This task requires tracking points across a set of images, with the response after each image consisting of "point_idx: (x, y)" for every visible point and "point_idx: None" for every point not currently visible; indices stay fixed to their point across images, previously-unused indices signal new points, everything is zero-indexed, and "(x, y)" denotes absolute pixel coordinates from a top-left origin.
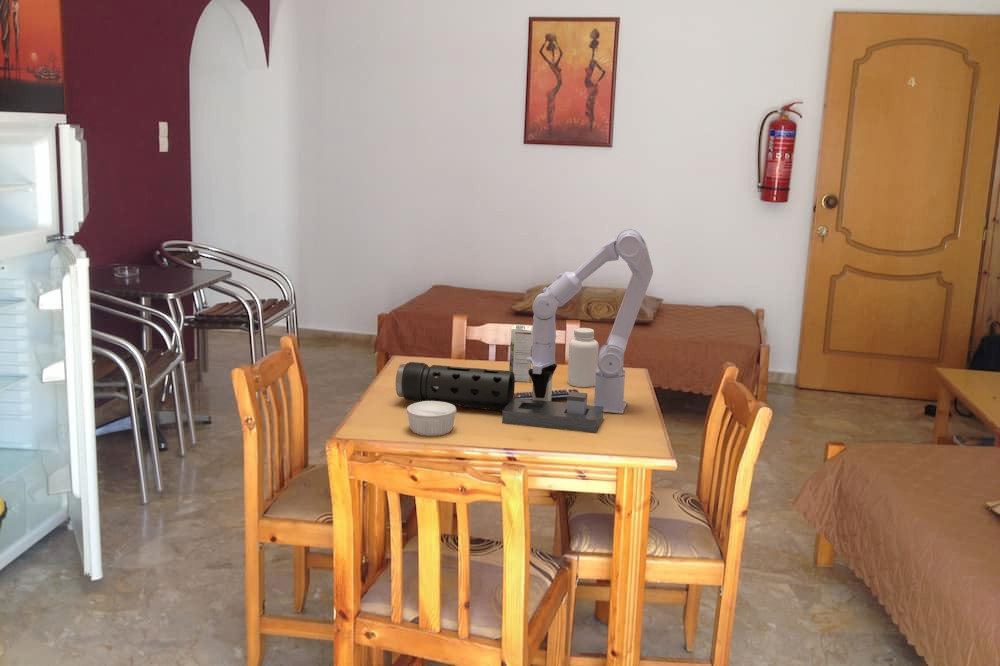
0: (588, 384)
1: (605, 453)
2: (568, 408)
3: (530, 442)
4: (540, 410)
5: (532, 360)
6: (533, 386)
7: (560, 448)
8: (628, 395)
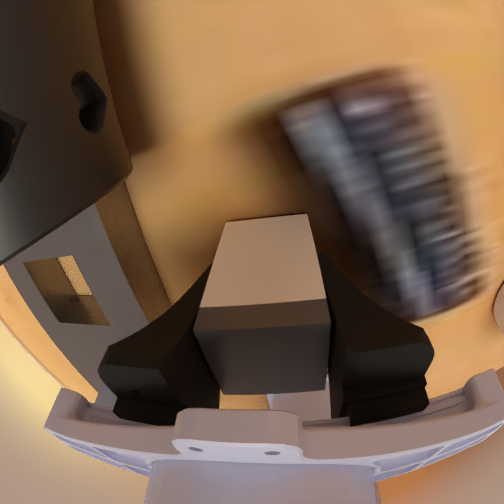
0: (496, 319)
1: (69, 389)
2: (103, 387)
3: (4, 303)
4: (61, 325)
5: (147, 457)
6: (209, 283)
7: (29, 345)
8: (425, 387)
